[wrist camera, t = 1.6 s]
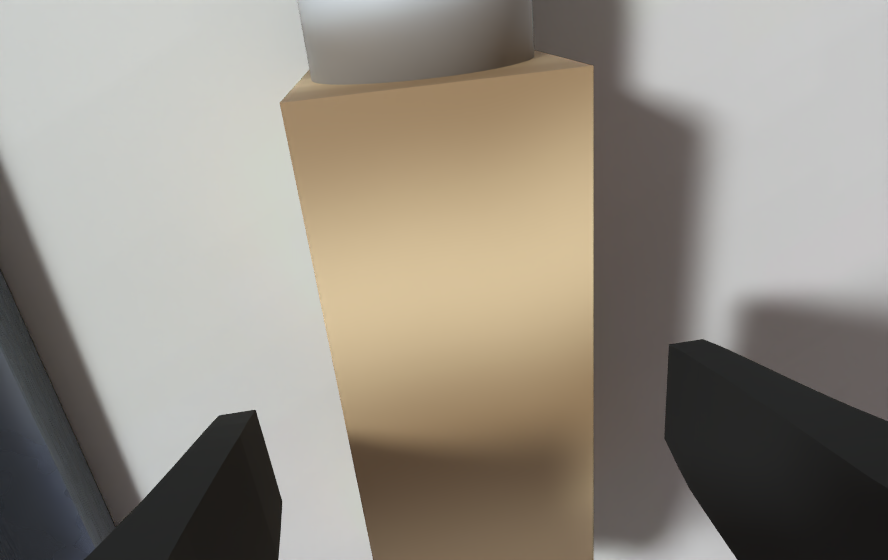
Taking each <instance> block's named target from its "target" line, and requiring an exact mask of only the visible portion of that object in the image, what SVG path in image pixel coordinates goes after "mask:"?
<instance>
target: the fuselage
mask: <svg viewBox="0 0 888 560" xmlns="http://www.w3.org/2000/svg"><path fill="white" fill-rule="evenodd" d="M297 3H298V8H299V14H300V19H301V25H302V30H303V36H304V41H305V47H306V52H307V58H308V63H309V71H308V72H307V73H306V74H305V75H304V76H303V77H302V78H301V80H300V81H299V82H298V83H297V84H296V85H295V86H294V88H293V89H292V90H291V91H290V92H289V93H288V94H287V95H286V97H285V98H284V99H283V100H282V101H281V102H280V107H281V111H282V116H283V121H284V126H285V131H286V136H287V141H288V146H289V151H290V155H291V160H292V165H293V170H294V175H295V180H296V185H297V190H298V195H299V199H300V204H301V209H302V214H303V219H304V224H305V229H306V234H307V239H308V243H309V248H310V253H311V258H312V263H313V268H314V273H315V278H316V283H317V287H318V292H319V297H320V302H321V307H322V312H323V317H324V322H325V326H326V331H327V336H328V341H329V346H330V351H331V356H332V361H333V366H334V370H335V375H336V380H337V385H338V390H339V395H340V400H341V405H342V410H343V414H344V419H345V424H346V429H347V434H348V439H349V444H350V449H351V454H352V458H353V463H354V468H355V473H356V478H357V483H358V488H359V493H360V498H361V502H362V507H363V512H364V517H365V522H366V527H367V532H368V537H369V541H370V546H371V551H372V556H373V560H593V65H589V64H585V63H582V62H578V61H574V60H570V59H566V58H563V57H559V56H555V55H551V54H547V53H544V52H540V51H536V50H534V35H533V8H532V0H297Z"/></svg>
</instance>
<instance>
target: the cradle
mask: <svg viewBox="0 0 888 560" xmlns="http://www.w3.org/2000/svg"><path fill="white" fill-rule="evenodd" d="M114 529H115V525H114V523H113V521H112V519H111V516H110V514H109V512H108V510H107V508H106V505H105V503H104V501H103V499H102V496H101V494H100V492H99V490H98V487H97V485H96V483H95V481H94V478H93V476H92V474H91V472H90V470H89V467H88V465H87V463H86V461H85V458H84V456H83V454H82V452H81V449H80V447H79V445H78V443H77V440H76V438H75V436H74V434H73V432H72V429H71V427H70V425H69V423H68V420H67V418H66V416H65V414H64V411H63V409H62V407H61V405H60V402H59V400H58V398H57V396H56V394H55V391H54V389H53V387H52V385H51V382H50V380H49V378H48V376H47V373H46V371H45V369H44V367H43V364H42V362H41V360H40V358H39V356H38V353H37V351H36V349H35V347H34V344H33V342H32V340H31V338H30V335H29V333H28V331H27V329H26V326H25V324H24V322H23V320H22V318H21V315H20V313H19V311H18V309H17V306H16V304H15V302H14V300H13V297H12V295H11V293H10V291H9V288H8V286H7V284H6V282H5V280H4V277H3V275H2V273H1V271H0V560H84V559H85V558H86V557H87V556H88V555H89V554H90V553H91V552H92V551H93V550H94V549H95V548H96V547H97V546H98V545H99V544H100V543H101V542H102V541H103V540H104V539H105V538H106V537H107V536H108V535H109V534H110V533H111V532H112V531H113V530H114Z"/></svg>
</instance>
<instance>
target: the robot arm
mask: <svg viewBox="0 0 888 560" xmlns="http://www.w3.org/2000/svg"><path fill="white" fill-rule="evenodd" d="M664 438H665V440H666V442H667V445H668V447H669V449H670V451H671V453H672V455H673V457H674V459H675V461H676V463H677V465H678V467H679V469H680V471H681V473H682V475H683V477H684V479H685V481H686V483H687V485H688V487H689V488H690V490H691V491H692V493H693V495H694V496H695V498H696V499H697V501H698V502H699V504H700V505H701V507H702V508H703V510H704V511H705V513H706V514H707V516H708V517H709V519H710V520H711V522H712V523H713V525H714V526H715V528H716V529H717V531H718V532H719V533H720V535H721V536H722V538H723V539H724V541H725V542H726V544H727V545H728V547H729V548H730V550H731V551H732V553H733V554H734V555H735V557H736V558H737V560H888V421H885V420H883V419H881V418H878V417H876V416H873V415H871V414H868V413H866V412H863V411H861V410H859V409H856V408H854V407H851V406H849V405H847V404H844V403H842V402H840V401H838V400H835V399H833V398H831V397H828V396H826V395H824V394H822V393H820V392H817V391H815V390H813V389H811V388H809V387H806V386H804V385H802V384H800V383H798V382H796V381H793V380H791V379H789V378H787V377H785V376H783V375H781V374H779V373H776V372H774V371H772V370H770V369H768V368H766V367H764V366H762V365H760V364H758V363H755V362H753V361H751V360H749V359H747V358H745V357H743V356H741V355H738V354H736V353H734V352H732V351H730V350H728V349H725V348H723V347H721V346H718V345H716V344H714V343H711V342H709V341H706V340H703V339H701V340H695V341H689V342H682V343H676V344H670V345H669V355H668V376H667V396H666V416H665V437H664ZM281 514H282V499H281V496H280V492H279V489H278V485H277V482H276V479H275V475H274V472H273V468H272V465H271V461H270V458H269V455H268V451H267V448H266V444H265V441H264V437H263V434H262V430H261V427H260V424H259V420H258V417H257V413H256V410H251V411H245V412H238V413H232V414H226V415H219V416H218V417H217V418H216V419H215V420H214V421H213V422H212V424H211V425H210V426H209V427H208V428H207V429H206V430H205V431H204V432H203V433H202V435H201V436H200V437H199V438H198V439H197V440H196V441H195V443H194V444H193V445H192V446H191V447H190V448H189V449H188V451H187V452H186V453H185V454H184V455H183V456H182V457H181V458H180V460H179V461H178V462H177V463H176V464H175V465H174V466H173V467H172V469H171V470H170V471H169V472H168V473H167V474H166V475H165V476H164V477H163V479H162V480H161V481H160V482H159V483H158V484H157V485H156V486H155V487H154V488H153V490H152V491H151V492H150V493H149V494H148V495H147V496H146V497H145V498H144V499H143V501H142V502H141V503H140V504H139V505H138V506H137V507H136V508H135V509H134V510H133V511H132V512H131V513H130V514H129V515H128V516H127V517H126V518H125V519H124V520H123V521H122V522H121V523H120V524H119V525H118V526H117V527H116V528H115V529H114V530H113V531H112V532H111V533H110V534H109V535H108V536H107V537H106V538H105V539H104V540H103V541H102V542H101V543H100V544H99V545H98V546H97V547H96V548H95V549H94V550H93V551H92V552H91V553H90V554H89V555H88V556H87V557H86V558H85V559H84V560H278V556H279V544H280V531H281Z"/></svg>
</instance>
